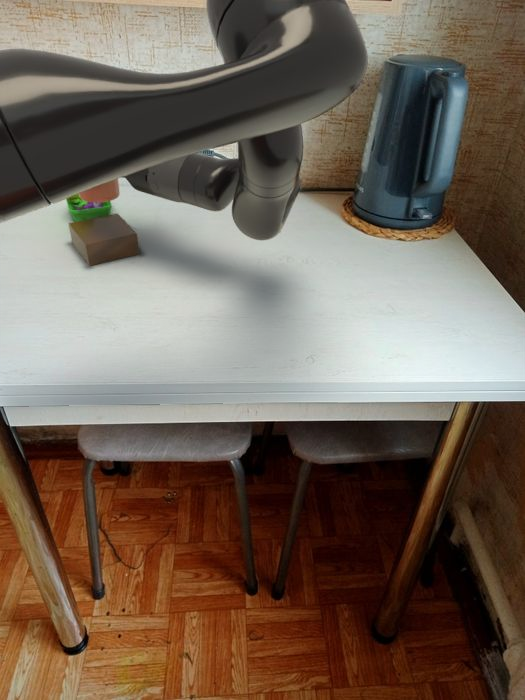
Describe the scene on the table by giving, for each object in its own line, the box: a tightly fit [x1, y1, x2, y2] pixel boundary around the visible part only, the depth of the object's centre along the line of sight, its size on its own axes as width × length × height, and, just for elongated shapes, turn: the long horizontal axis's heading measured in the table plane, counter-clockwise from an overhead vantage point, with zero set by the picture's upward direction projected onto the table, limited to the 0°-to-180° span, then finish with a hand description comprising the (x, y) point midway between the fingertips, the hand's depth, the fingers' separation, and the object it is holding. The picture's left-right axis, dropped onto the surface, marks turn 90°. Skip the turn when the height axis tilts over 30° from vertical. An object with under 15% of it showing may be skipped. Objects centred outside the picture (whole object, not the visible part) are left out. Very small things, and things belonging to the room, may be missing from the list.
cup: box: [79, 178, 121, 203], centre depth 80 cm, size 6×6×9 cm
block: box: [68, 212, 140, 267], centre depth 90 cm, size 9×9×4 cm
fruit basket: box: [65, 194, 113, 222], centre depth 95 cm, size 11×9×11 cm
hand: (81, 147), depth 79 cm, fingers closed on cup, 6 cm apart
